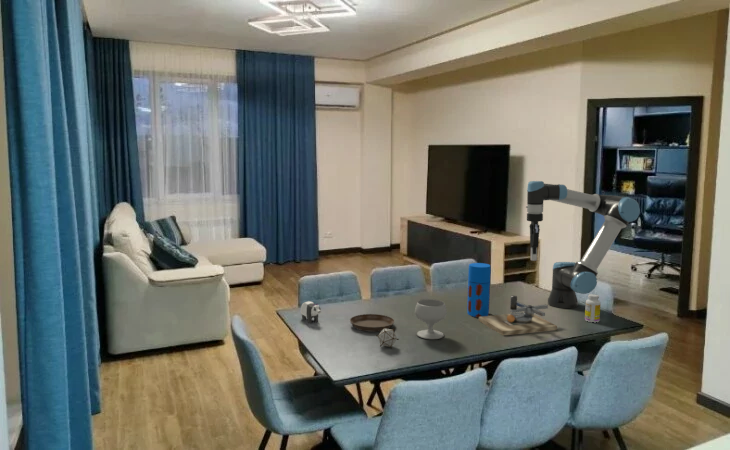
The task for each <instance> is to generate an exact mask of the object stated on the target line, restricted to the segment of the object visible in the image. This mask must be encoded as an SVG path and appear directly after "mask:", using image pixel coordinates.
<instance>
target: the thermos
mask: <svg viewBox="0 0 730 450" xmlns="http://www.w3.org/2000/svg"><path fill="white" fill-rule="evenodd" d="M491 271H492V268H491V265H490V264H489V263H485V262H484V263H483V262H472V263H468V276H467V278H468V280H467V306H466V307H467V308H466V309H467V310H466V311H467V315H468V316H470V317H474V318H479V317H481V316H490V315H489V313H490V300H491V299H490V298H491V297H490V296H491V295H490V294H491V292H490V291H491Z"/></svg>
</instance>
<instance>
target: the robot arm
mask: <svg viewBox="0 0 730 450" xmlns="http://www.w3.org/2000/svg"><path fill="white" fill-rule="evenodd" d="M526 191H527V192H526V193H527V194H526V197H527V200H526V206H525V208H526V212H527V213H526V221H528V222H530V224H529V226H528V227H529V245H530V247H529V248H530V261H532V262H533V261H534V262H535V261H538V247H539V236H540V230H541V229H540V224H539V222H542V221H543V220H544V214H543V213H544V201H553V202H558V203H562V204H566V205H570V206H575V207H579V208H584V209H586V210H589V212H592V213H595V214H597V215H598V214H599V215H601V216H603V218H604V222H603V223H602V225H601V227H599V230H598V231H597V233H596V235H595V237H594V238H593V240H592V242H591V243H590V244H589V246H588V248H587V250H586V251H585V253H584V254H583V256H582V258H581V260H579V261H576V262H573V261H558V262H557V261H556V262H554V263H553V265H552V277H551V278H552V281H551V291H550V293H549V295H548V298H547V305H549V306H552V307H554V308H561V309H574V308H575V309H576V308H577V307H578V304H579V302H578V298H577V293H578V294H581V295H585V294H587V295H588V294H591V292H593V291H594V290H595V288H596V287H597V284H598V281H597V280H598V279H597V275H598V274H599V272H598V269H599V266H600V265H601V264H602V261H603V260H604V258H605V257H606V255H607V254H608V251H609V250H610V249H611V247H612V245H613V243H614V241H615V240H616V238H617V236H618V235H619V233H620V232H621V230H622V229H624V228H627V227H628V225H629V223H631V222H633V221H636V220H637V219H638V218H639V216H640V213H641V209H640V204H639V202H638V201H637V200H635V199H634V198H632V197H628V196H620V195H619V196H618V195H608V194H607V195H606V194H598V193H594V194H589V193H585V192H580V191H577V190H574V189H568V188H567V186H566V185H565V184H559V183H558V184H554V183H553V184H552V183H544V181H542V180H531V181H529V182H528V183H527V189H526Z"/></svg>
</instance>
